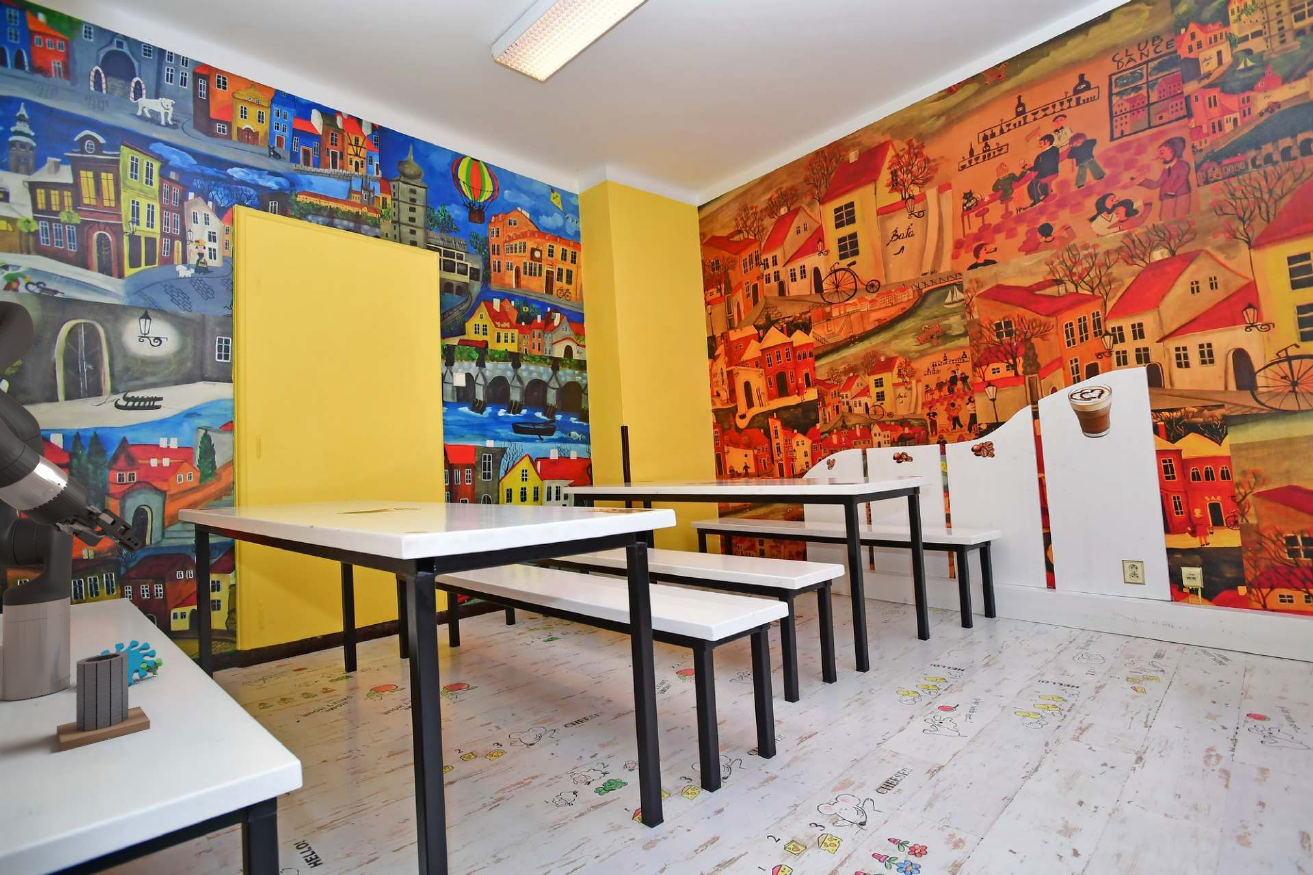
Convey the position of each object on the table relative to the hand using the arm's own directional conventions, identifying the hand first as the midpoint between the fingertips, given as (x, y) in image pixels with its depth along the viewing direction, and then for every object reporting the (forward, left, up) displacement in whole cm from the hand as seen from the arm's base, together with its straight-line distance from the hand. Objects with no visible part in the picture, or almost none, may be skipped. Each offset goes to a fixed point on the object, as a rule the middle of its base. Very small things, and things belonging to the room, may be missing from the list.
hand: (117, 545), depth 107 cm
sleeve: (+3, -9, -27) cm, 29 cm away
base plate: (+3, -9, -28) cm, 30 cm away
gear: (-8, +19, -28) cm, 35 cm away
